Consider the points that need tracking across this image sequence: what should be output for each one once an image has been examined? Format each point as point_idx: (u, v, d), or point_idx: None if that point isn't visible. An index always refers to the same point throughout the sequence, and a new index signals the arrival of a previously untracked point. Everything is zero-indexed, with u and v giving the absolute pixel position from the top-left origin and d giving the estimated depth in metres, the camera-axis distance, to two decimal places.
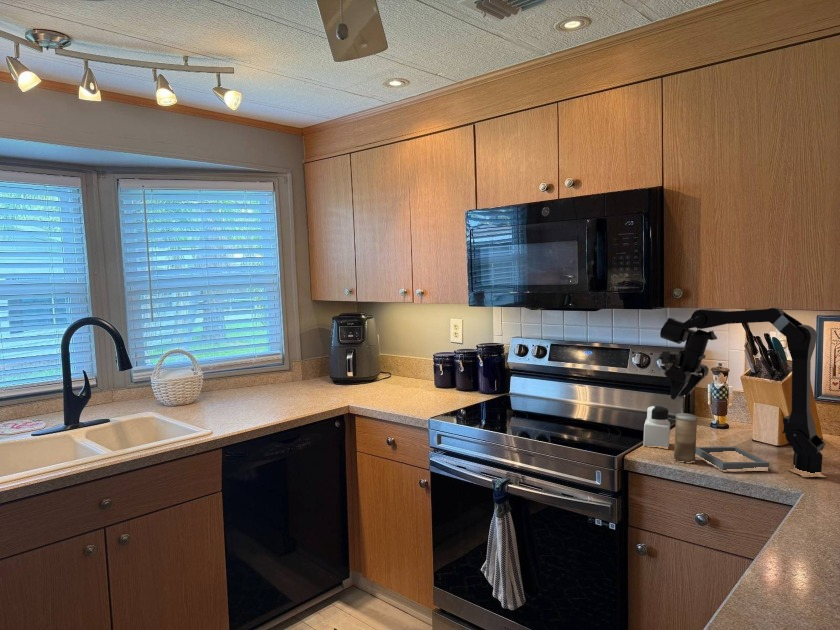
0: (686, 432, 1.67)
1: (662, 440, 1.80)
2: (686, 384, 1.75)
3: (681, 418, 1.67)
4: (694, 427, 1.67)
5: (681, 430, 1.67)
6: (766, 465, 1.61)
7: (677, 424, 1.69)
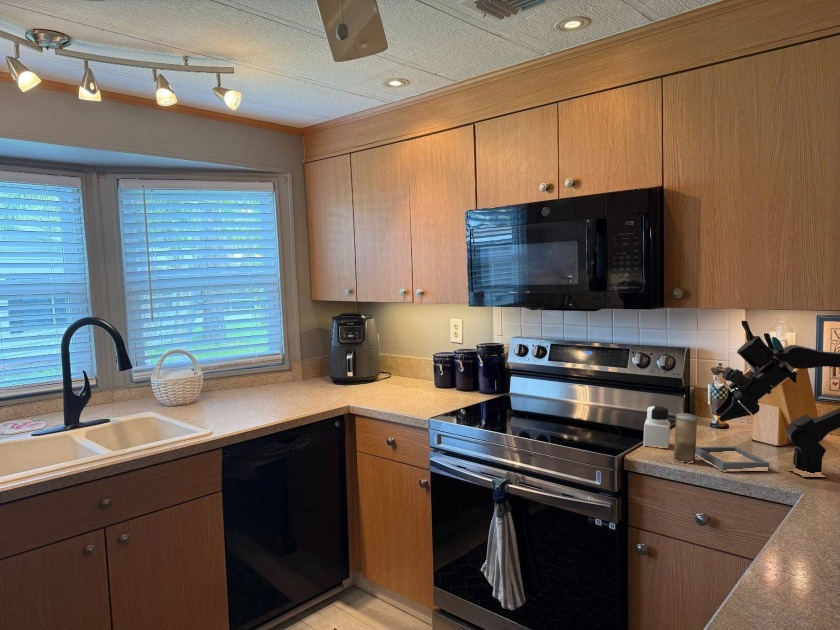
0: (686, 432, 1.67)
1: (662, 440, 1.80)
2: None
3: (681, 418, 1.67)
4: (694, 427, 1.67)
5: (681, 430, 1.67)
6: (766, 465, 1.61)
7: (677, 424, 1.69)
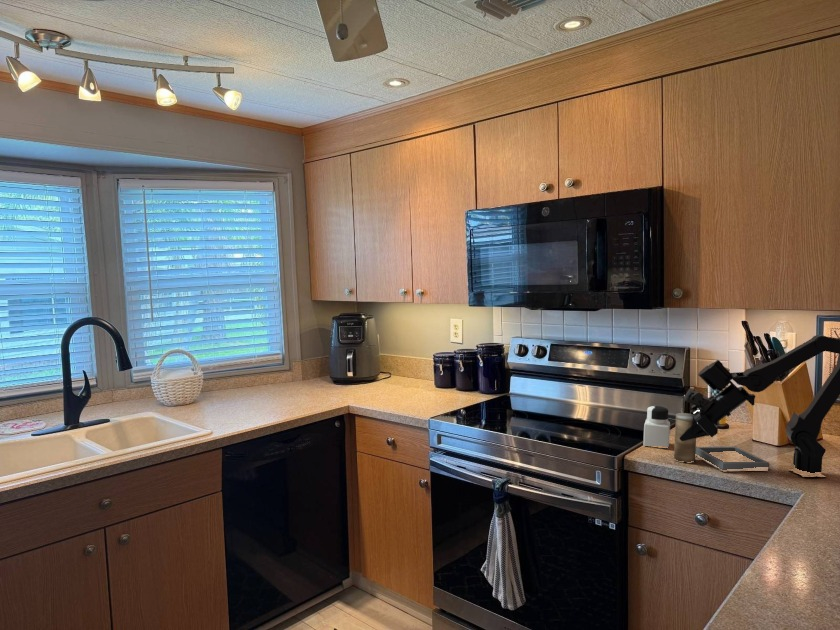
0: None
1: (662, 440, 1.80)
2: None
3: (681, 418, 1.67)
4: None
5: (681, 430, 1.67)
6: (766, 465, 1.61)
7: (677, 424, 1.69)
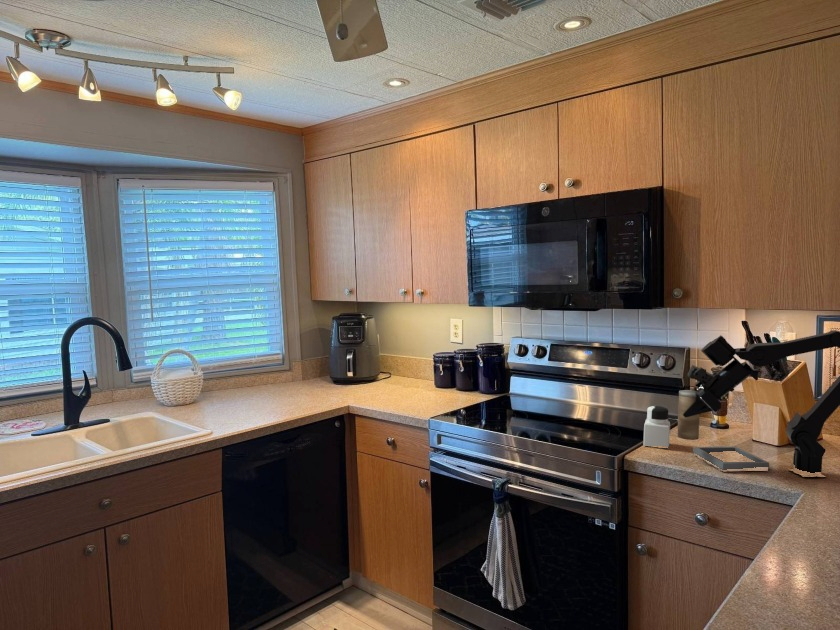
0: None
1: (662, 440, 1.80)
2: None
3: (684, 394, 1.67)
4: None
5: (684, 406, 1.67)
6: (766, 465, 1.61)
7: (680, 400, 1.68)
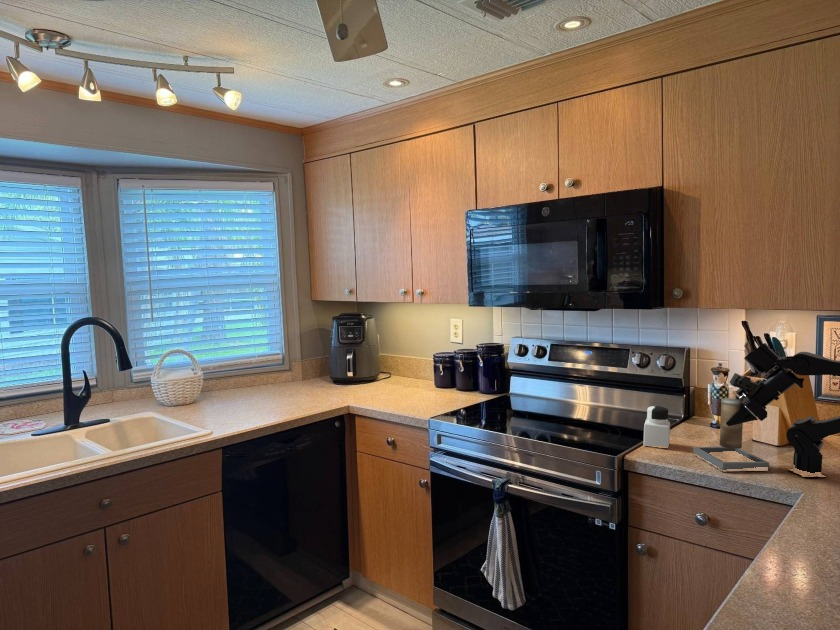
0: None
1: (662, 440, 1.80)
2: None
3: (727, 403, 1.65)
4: None
5: (727, 415, 1.65)
6: (766, 465, 1.61)
7: (723, 409, 1.66)
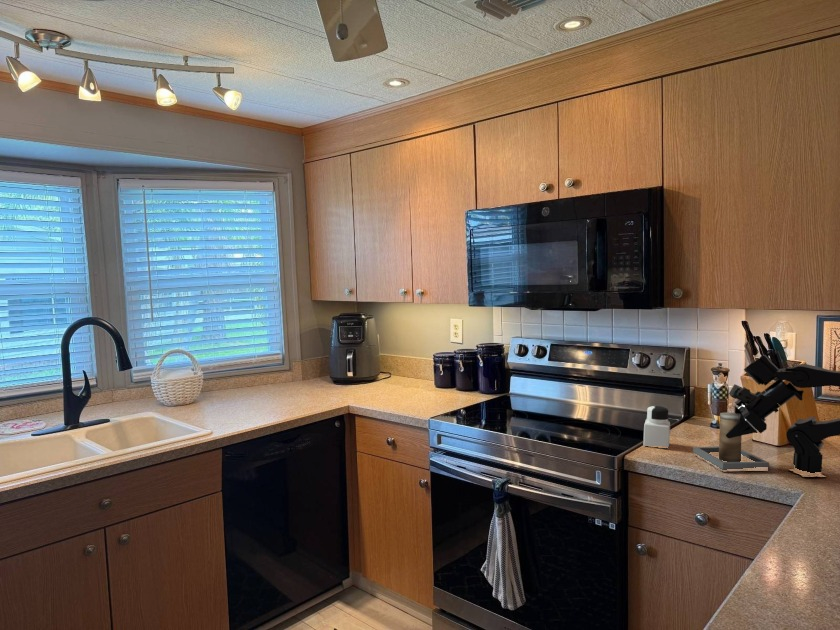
0: None
1: (662, 440, 1.80)
2: None
3: (726, 417, 1.65)
4: None
5: (726, 429, 1.65)
6: (766, 465, 1.61)
7: (722, 423, 1.66)
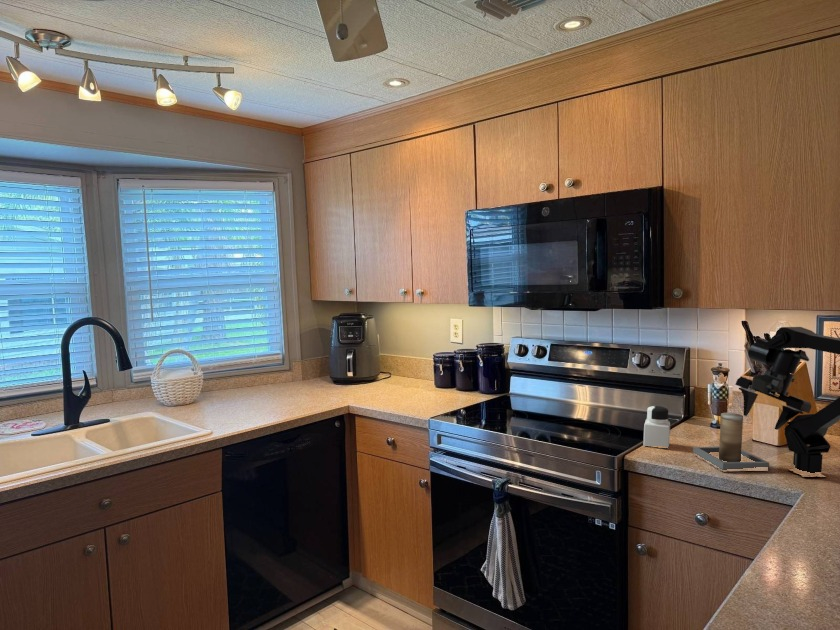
0: (732, 432, 1.64)
1: (662, 440, 1.80)
2: None
3: (727, 417, 1.65)
4: (740, 427, 1.64)
5: (727, 429, 1.65)
6: (766, 465, 1.61)
7: (722, 424, 1.66)
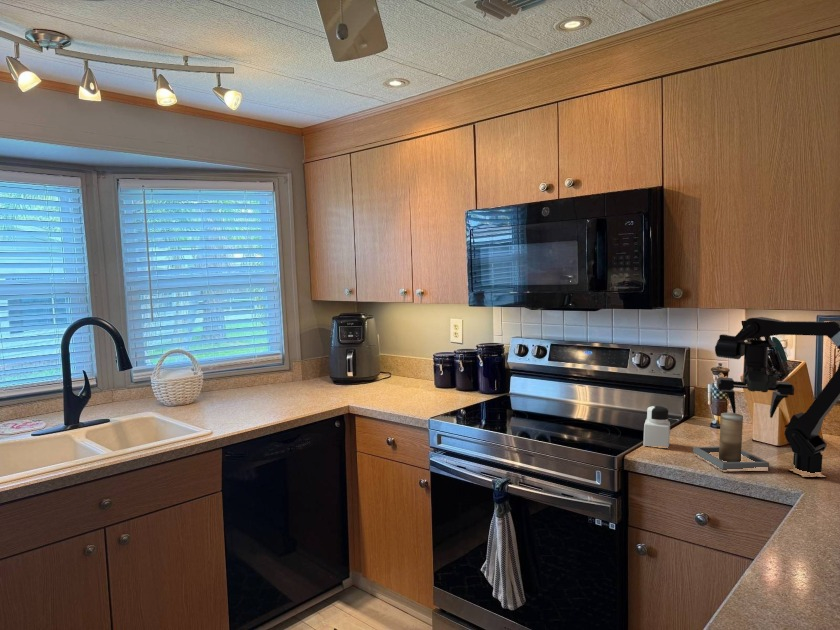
0: (732, 432, 1.64)
1: (662, 440, 1.80)
2: None
3: (727, 417, 1.65)
4: (740, 427, 1.65)
5: (726, 429, 1.65)
6: (766, 465, 1.61)
7: (722, 424, 1.66)
